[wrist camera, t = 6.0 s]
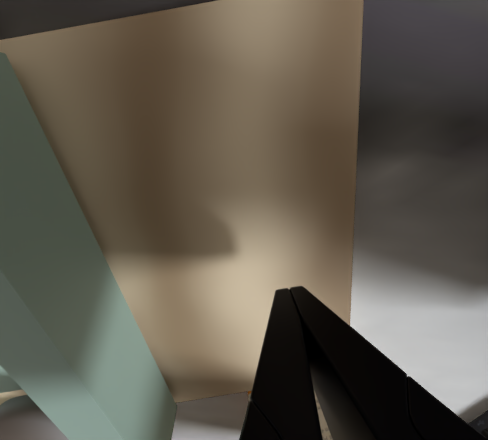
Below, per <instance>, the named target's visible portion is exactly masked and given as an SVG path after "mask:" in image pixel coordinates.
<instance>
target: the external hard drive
mask: <svg viewBox="0 0 488 440" xmlns="http://www.w3.org/2000/svg"><path fill="white" fill-rule="evenodd" d="M469 425H470V426H472V427H473V428H474V429H476V430H477V431H478V432H480V433H481V434H482V435H483V436H485V437H486V438H487V439H488V411H486V412H485V413H484V414H482V415H481V416H479V417H478V418H476V419H475V420H473V421H472V422H471V423H469Z"/></svg>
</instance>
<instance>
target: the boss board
mask: <svg viewBox="0 0 488 440" xmlns="http://www.w3.org/2000/svg"><path fill="white" fill-rule="evenodd" d="M362 24H363V0H218V1H212V2H207V3H201V4H196V5H190V6H185V7H179V8H174V9H168V10H163V11H157V12H152V13H146V14H141V15H135V16H130V17H124V18H119V19H113V20H108V21H102V22H97V23H91V24H86V25H80V26H75V27H69V28H64V29H58V30H53V31H47V32H42V33H36V34H31V35H25V36H20V37H14V38H9V39H4V40H0V52H2V53H5V54H6V56H7V58H8V60H9V62H10V64H11V66H12V68H13V70H14V72H15V74H16V76H17V78H18V80H19V82H20V84H21V86H22V88H23V91H24V93H25V95H26V97H27V99H28V101H29V103H30V105H31V107H32V109H33V111H34V113H35V115H36V117H37V119H38V121H39V123H40V126H41V128H42V130H43V132H44V134H45V136H46V138H47V140H48V142H49V144H50V146H51V148H52V150H53V152H54V154H55V156H56V158H57V160H58V163H59V165H60V167H61V169H62V171H63V173H64V175H65V177H66V179H67V181H68V183H69V185H70V187H71V189H72V191H73V193H74V195H75V197H76V200H77V202H78V204H79V206H80V208H81V210H82V212H83V214H84V216H85V218H86V220H87V222H88V224H89V226H90V228H91V230H92V232H93V234H94V237H95V239H96V241H97V243H98V245H99V247H100V249H101V251H102V253H103V255H104V257H105V259H106V261H107V263H108V265H109V267H110V269H111V271H112V274H113V276H114V278H115V280H116V282H117V284H118V286H119V288H120V290H121V292H122V294H123V296H124V298H125V300H126V302H127V304H128V306H129V308H130V311H131V313H132V315H133V317H134V319H135V321H136V323H137V325H138V327H139V329H140V331H141V333H142V335H143V337H144V339H145V341H146V343H147V345H148V348H149V350H150V352H151V354H152V356H153V358H154V360H155V362H156V364H157V366H158V368H159V370H160V372H161V374H162V376H163V378H164V380H165V382H166V385H167V387H168V389H169V391H170V393H171V395H172V397H173V399H174V401H175V403H178V402H184V401H191V400H197V399H203V398H209V397H216V396H222V395H228V394H235V393H241V392H247V391H252V387H253V383H254V379H255V374H256V370H257V366H258V362H259V357H260V353H261V349H262V345H263V341H264V336H265V332H266V328H267V324H268V319H269V315H270V311H271V307H272V303H273V298H274V294H275V291H276V290H277V289H283V288H288V289H290V287H295V286H303V287H305V288H306V289H307V290H308V291H309V292H311V293H312V294H313V295H314V296H315V297H316V298H318V299H319V300H320V301H321V302H322V303H324V304H325V305H326V306H327V307H328V308H329V309H331V310H332V311H333V312H334V313H335V314H337V315H338V316H339V317H340V318H341V319H342V320H344V321H345V322H346V323H347V324H348V325H350V311H351V287H352V263H353V239H354V215H355V191H356V167H357V143H358V119H359V96H360V72H361V48H362ZM0 440H69V439H68V438H67V437H66V436H65V435H64V434H63V433H62V432H61V431H60V430H59V428H58V427H57V426H56V425H55V424H54V423H53V422H52V421H51V420H50V419H49V418H48V417H47V415H46V414H45V413H44V412H43V411H42V410H41V409H40V408H39V407H38V406H37V405H36V403H35V402H34V401H33V400H32V399H31V398H30V397H29V396H28V395H27V394H26V393H25V392H24V390H23V389H22V390H16V391H10V392H4V393H0Z"/></svg>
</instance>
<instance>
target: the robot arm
mask: <svg viewBox="0 0 488 440" xmlns="http://www.w3.org/2000/svg"><path fill="white" fill-rule="evenodd" d="M314 391H315V393H316V396H317V399H318V401H319V404H320V407H321V409H322V412H323V415H324V418H325V420H326V423H327V426H328V428H329V431H330V434H331V436H332V439H333V440H488V439H487V438H486V437H485V436H483V435H482V434H481V433H480V432H478V431H477V430H476V429H474V428H473V427H472V426H470V425H469V424H468V423H466V422H465V421H464V420H462V419H461V418H460V417H458V416H457V415H456V414H455V413H454V412H452V411H451V410H450V409H449V408H447V407H446V406H445V405H444V404H442V403H441V402H440V401H439V400H438V399H436V398H435V397H434V396H433V395H431V394H430V393H429V392H428V391H427V390H425V389H424V388H423V387H422V386H421V385H419V384H418V383H417V382H416V381H415V380H414V379H412V378H411V377H410V376H408V377H407V374H406V373H405V372H404V371H403V370H402V369H400V368H399V367H398V366H397V365H396V364H394V363H393V362H392V361H391V360H390V359H389V358H387V357H386V356H385V355H384V354H383V353H381V352H380V351H379V350H378V349H377V348H376V347H374V346H373V345H372V344H371V343H370V342H368V341H367V340H366V339H365V338H364V337H363V336H361V335H360V334H359V333H358V332H357V331H355V330H354V329H353V328H352V327H351V326H350V325H348V324H347V323H346V322H345V321H344V320H342V319H341V318H340V317H339V316H338V315H337V314H335V313H334V312H333V311H332V310H331V309H329V308H328V307H327V306H326V305H325V304H324V303H322V302H321V301H320V300H319V299H318V298H316V297H315V296H314V295H313V294H312V293H311V292H309V291H308V290H307V289H306V288H305V287H303V286H295V287H290V289H288V288H283V289H277V290H276V291H275V294H274V298H273V303H272V307H271V311H270V315H269V319H268V324H267V328H266V332H265V336H264V341H263V345H262V349H261V353H260V357H259V362H258V366H257V370H256V374H255V379H254V383H253V387H252V391H251V395H250V401H249V403H248V407H247V411H246V416H245V420H244V424H243V427H242V431H241V435H240V438H239V440H323V438H322V432H321V427H320V421H319V416H318V410H317V405H316V399H315V394H314Z"/></svg>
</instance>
